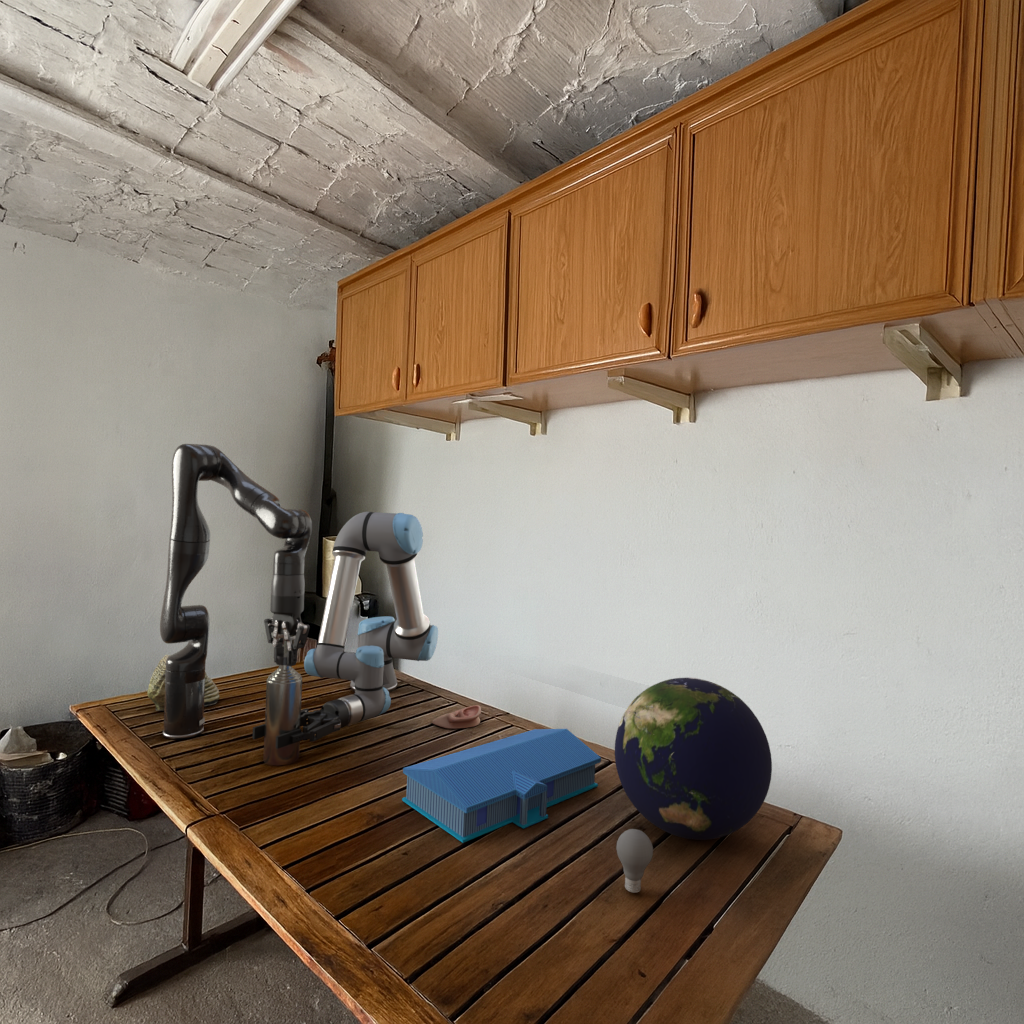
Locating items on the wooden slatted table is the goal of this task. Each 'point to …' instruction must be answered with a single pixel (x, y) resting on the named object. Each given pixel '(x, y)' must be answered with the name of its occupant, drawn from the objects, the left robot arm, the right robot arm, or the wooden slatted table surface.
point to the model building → (501, 782)
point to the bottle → (282, 714)
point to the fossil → (158, 687)
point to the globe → (693, 758)
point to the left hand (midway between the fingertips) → (285, 663)
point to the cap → (281, 659)
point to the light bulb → (634, 857)
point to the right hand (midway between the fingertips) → (265, 737)
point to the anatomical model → (460, 718)
